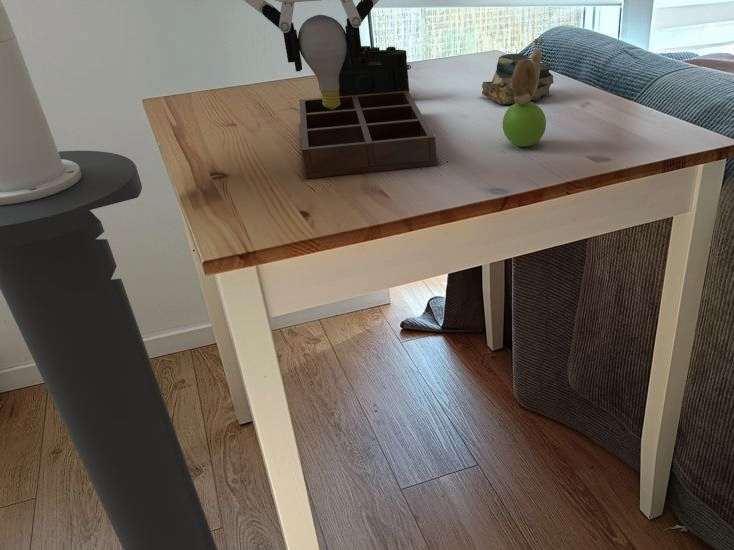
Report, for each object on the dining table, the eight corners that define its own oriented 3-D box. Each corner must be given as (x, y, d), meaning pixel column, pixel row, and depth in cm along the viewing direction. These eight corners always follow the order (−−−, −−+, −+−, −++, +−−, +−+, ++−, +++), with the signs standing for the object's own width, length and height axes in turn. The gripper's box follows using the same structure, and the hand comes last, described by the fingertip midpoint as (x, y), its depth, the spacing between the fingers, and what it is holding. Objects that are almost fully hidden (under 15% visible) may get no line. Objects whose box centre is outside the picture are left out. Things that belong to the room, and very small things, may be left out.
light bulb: (340, 100, 83) (328, 9, 78) (364, 109, 80) (354, 14, 74) (300, 109, 81) (284, 15, 75) (323, 118, 77) (309, 21, 71)
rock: (477, 98, 107) (476, 59, 104) (524, 88, 111) (525, 50, 108) (511, 110, 101) (511, 69, 98) (560, 98, 105) (561, 59, 102)
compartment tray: (306, 178, 80) (301, 149, 78) (303, 124, 98) (299, 99, 97) (436, 165, 82) (435, 137, 81) (409, 114, 101) (407, 90, 99)
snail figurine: (555, 140, 89) (559, 40, 82) (533, 155, 84) (536, 50, 78) (518, 134, 91) (519, 36, 85) (494, 148, 87) (494, 46, 80)
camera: (417, 91, 112) (413, 37, 107) (411, 102, 106) (407, 47, 102) (331, 92, 113) (323, 39, 109) (320, 104, 107) (312, 49, 103)
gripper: (381, -132, 72) (397, 54, 82) (211, -125, 69) (250, 66, 79) (390, -133, 66) (406, 67, 76) (204, -126, 63) (246, 80, 73)
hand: (326, 64), depth 78 cm, fingers closed on light bulb, 5 cm apart
